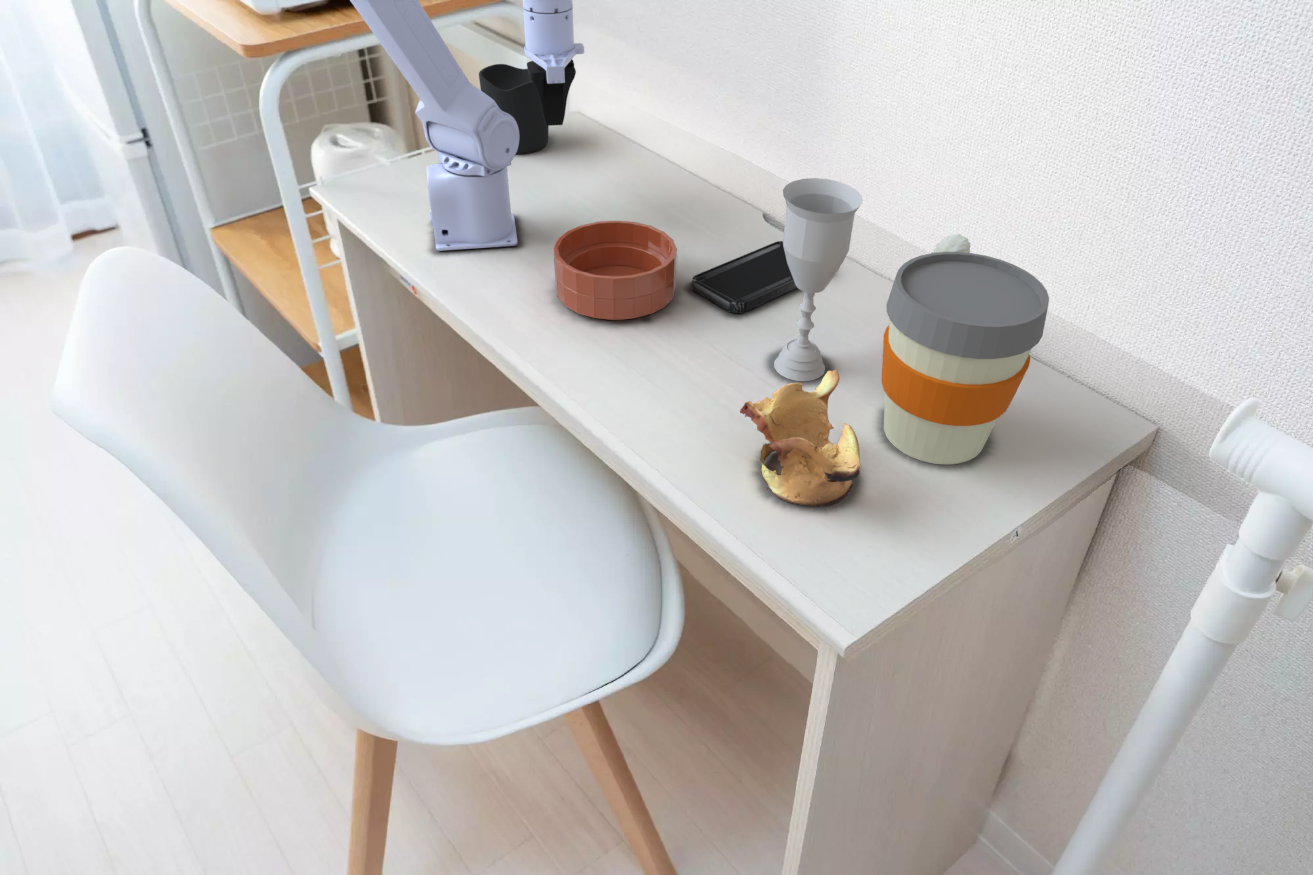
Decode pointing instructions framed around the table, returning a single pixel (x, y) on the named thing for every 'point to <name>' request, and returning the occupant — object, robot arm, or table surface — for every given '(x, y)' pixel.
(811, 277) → the chalice
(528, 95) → the pen holder
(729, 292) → the phone
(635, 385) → the table surface
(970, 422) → the reusable coffee cup
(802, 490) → the yellow irregular figure
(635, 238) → the bowl
